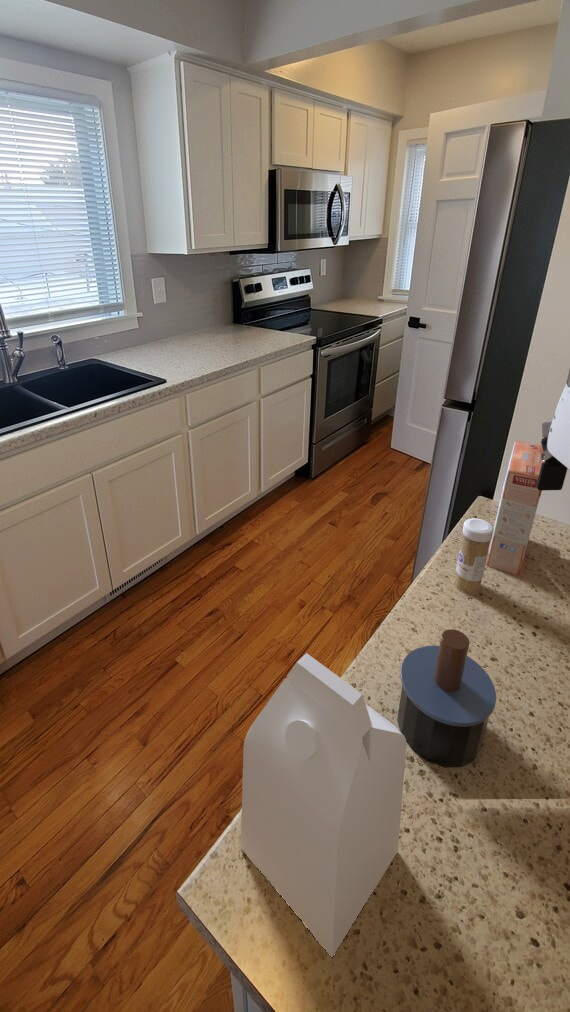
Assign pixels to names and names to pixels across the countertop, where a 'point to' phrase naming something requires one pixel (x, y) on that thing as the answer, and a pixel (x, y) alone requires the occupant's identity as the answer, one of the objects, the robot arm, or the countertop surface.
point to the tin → (439, 736)
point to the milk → (322, 798)
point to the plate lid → (448, 682)
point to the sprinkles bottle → (473, 555)
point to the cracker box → (516, 508)
